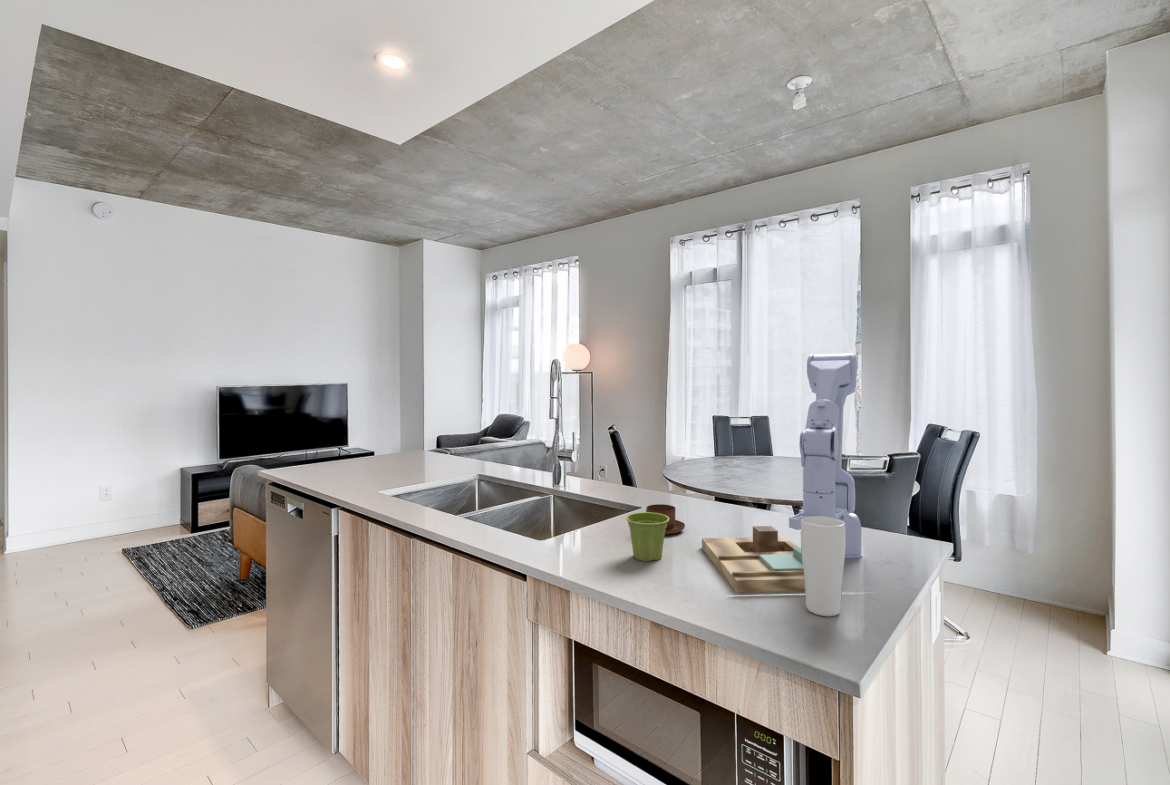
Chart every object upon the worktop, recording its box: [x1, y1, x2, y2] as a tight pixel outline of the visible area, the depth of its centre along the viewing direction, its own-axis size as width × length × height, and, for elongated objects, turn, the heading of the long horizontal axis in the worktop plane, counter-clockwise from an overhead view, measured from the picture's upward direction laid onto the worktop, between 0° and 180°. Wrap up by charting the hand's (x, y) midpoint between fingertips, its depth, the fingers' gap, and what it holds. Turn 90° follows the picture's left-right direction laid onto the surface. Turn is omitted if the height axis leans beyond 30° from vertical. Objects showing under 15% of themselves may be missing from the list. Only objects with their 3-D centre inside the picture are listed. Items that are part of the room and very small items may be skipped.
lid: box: [759, 546, 803, 571], centre depth 106 cm, size 8×8×2 cm
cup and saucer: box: [645, 503, 686, 536], centre depth 139 cm, size 12×12×6 cm
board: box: [701, 536, 805, 593], centre depth 112 cm, size 19×26×3 cm
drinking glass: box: [800, 516, 846, 617], centre depth 91 cm, size 7×7×15 cm
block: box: [752, 525, 779, 552], centre depth 118 cm, size 4×4×6 cm
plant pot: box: [625, 511, 669, 562], centre depth 119 cm, size 9×9×9 cm
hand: (818, 560), depth 106 cm, fingers closed
